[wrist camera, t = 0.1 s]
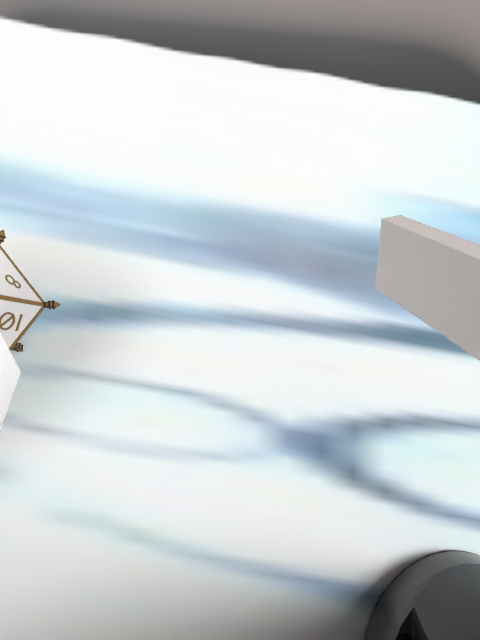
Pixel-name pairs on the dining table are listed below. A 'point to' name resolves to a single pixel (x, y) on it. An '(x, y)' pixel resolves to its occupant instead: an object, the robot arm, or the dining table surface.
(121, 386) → the dining table surface
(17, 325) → the game die
